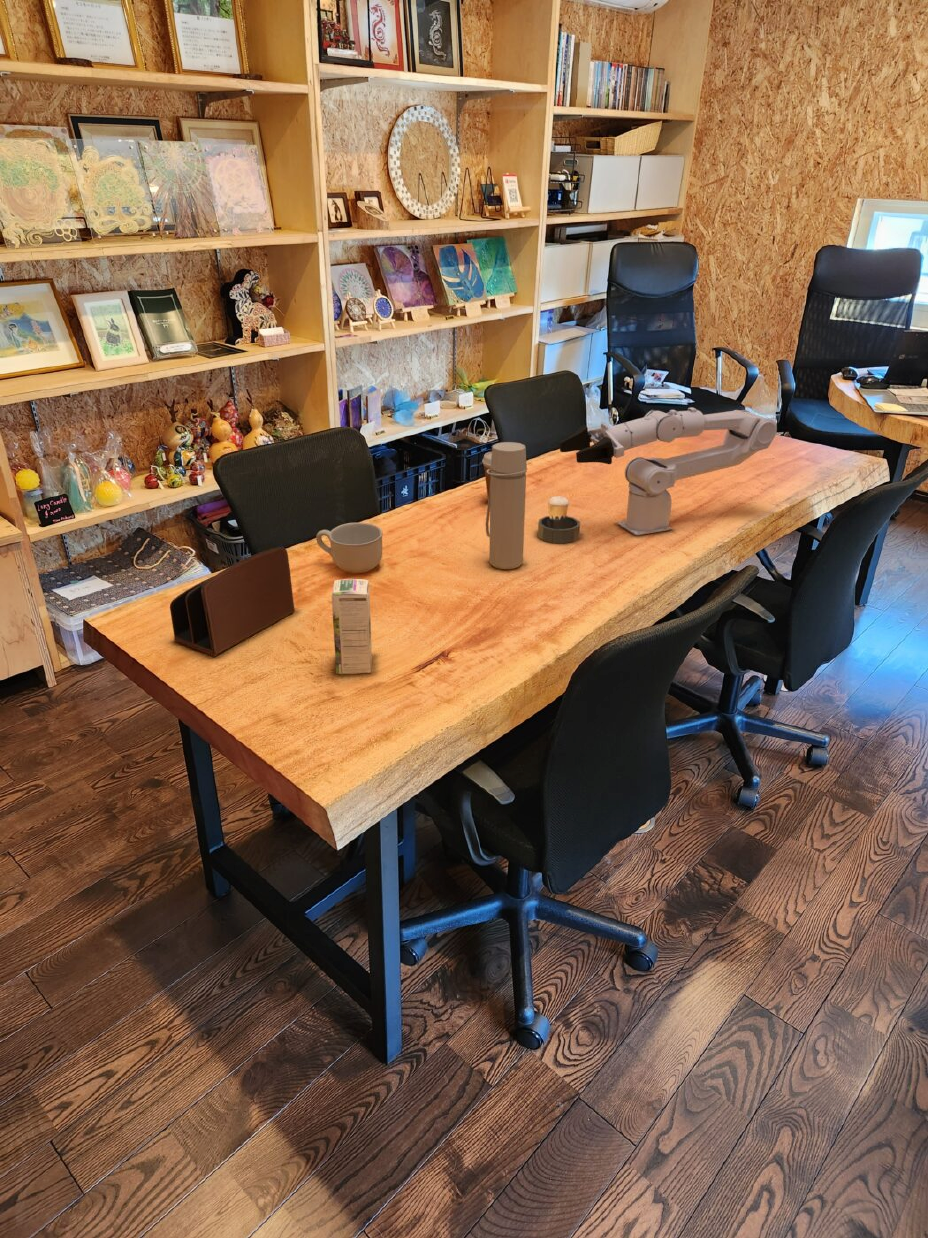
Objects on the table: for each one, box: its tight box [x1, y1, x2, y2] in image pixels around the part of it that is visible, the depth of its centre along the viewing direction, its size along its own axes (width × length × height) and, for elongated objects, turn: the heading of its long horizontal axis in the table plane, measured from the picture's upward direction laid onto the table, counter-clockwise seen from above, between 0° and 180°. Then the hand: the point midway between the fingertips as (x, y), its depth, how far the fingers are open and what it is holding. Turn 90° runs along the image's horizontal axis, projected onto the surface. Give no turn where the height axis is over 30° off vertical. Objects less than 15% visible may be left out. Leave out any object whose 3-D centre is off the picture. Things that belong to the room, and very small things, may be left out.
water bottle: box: [485, 441, 528, 570], centre depth 167 cm, size 9×8×25 cm
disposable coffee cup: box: [482, 451, 492, 499], centre depth 203 cm, size 10×10×12 cm
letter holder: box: [169, 546, 296, 657], centre depth 145 cm, size 10×20×14 cm, turn 148°
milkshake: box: [547, 494, 574, 529], centre depth 184 cm, size 4×5×10 cm
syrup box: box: [331, 578, 373, 675], centre depth 133 cm, size 6×6×14 cm
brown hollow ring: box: [537, 515, 581, 545], centre depth 186 cm, size 9×9×3 cm
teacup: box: [315, 522, 383, 575], centre depth 170 cm, size 14×11×8 cm
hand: (568, 452), depth 175 cm, fingers open, 7 cm apart
